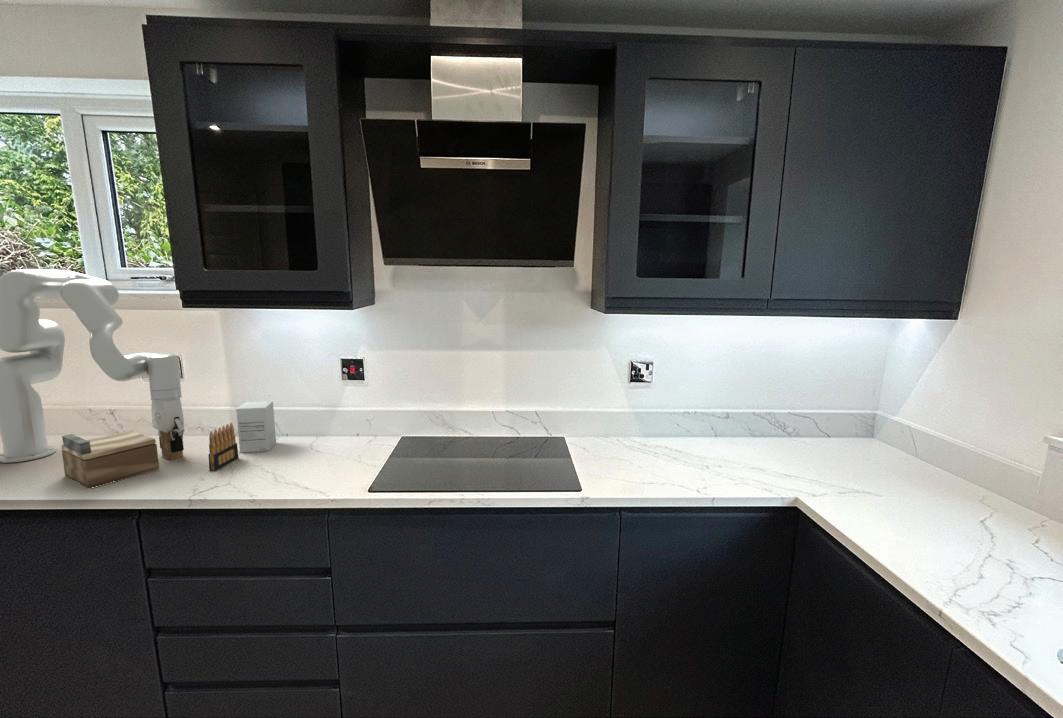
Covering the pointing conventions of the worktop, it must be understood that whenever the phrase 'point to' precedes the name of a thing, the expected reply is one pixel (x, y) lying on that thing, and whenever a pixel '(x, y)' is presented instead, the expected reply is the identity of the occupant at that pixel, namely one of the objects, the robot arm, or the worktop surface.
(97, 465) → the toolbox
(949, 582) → the worktop surface
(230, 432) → the ammunition clip
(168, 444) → the brown wooden block
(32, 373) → the robot arm
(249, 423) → the supplement box
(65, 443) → the lid
